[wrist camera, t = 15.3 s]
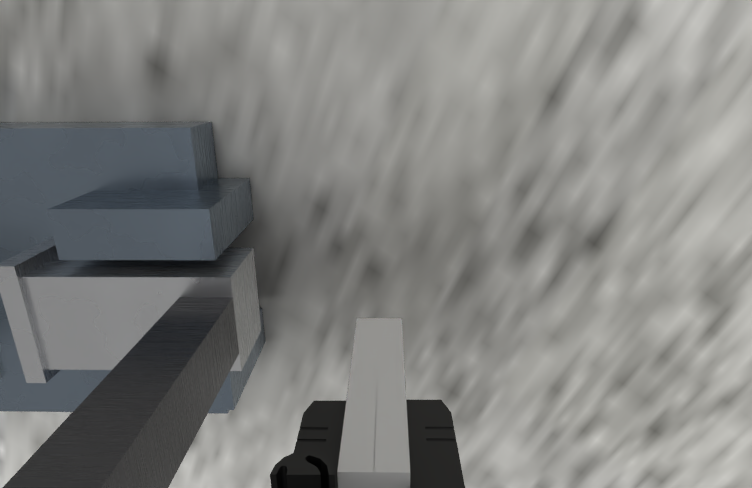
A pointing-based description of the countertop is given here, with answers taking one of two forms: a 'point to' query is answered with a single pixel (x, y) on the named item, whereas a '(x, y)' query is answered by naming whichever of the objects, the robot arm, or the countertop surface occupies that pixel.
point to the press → (113, 220)
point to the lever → (128, 356)
